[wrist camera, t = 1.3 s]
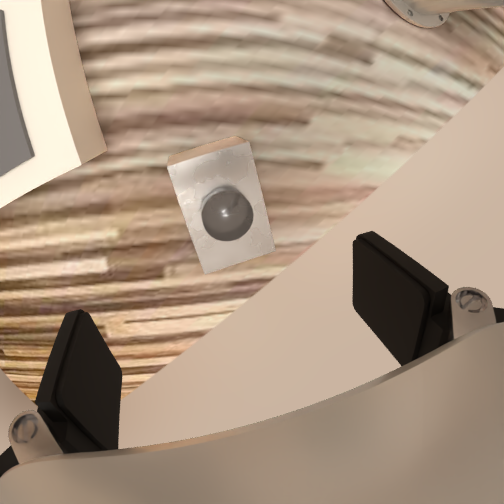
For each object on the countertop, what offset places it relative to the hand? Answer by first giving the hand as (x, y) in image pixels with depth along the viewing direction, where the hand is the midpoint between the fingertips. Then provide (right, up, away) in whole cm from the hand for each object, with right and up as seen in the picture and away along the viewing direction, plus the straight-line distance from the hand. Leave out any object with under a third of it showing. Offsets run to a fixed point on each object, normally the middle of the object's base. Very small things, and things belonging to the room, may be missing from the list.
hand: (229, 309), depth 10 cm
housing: (-3, +7, +18) cm, 20 cm away
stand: (-21, +15, +9) cm, 28 cm away
